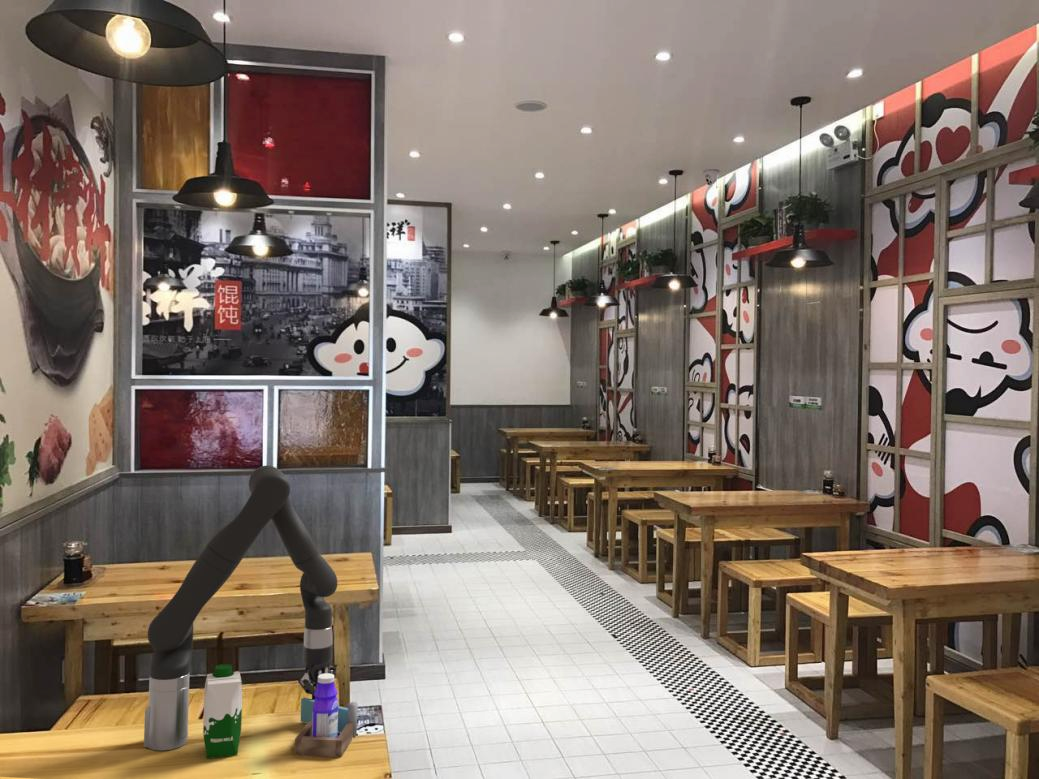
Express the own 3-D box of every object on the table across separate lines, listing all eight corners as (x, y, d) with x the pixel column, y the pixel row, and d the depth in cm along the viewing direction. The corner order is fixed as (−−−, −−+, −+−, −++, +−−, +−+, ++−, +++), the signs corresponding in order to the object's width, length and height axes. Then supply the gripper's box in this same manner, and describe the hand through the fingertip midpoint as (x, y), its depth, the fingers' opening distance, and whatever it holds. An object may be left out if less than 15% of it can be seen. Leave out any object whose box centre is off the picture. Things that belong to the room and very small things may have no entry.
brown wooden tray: (294, 755, 199) (295, 738, 199) (308, 736, 210) (309, 721, 210) (341, 757, 199) (341, 740, 199) (352, 738, 210) (353, 723, 210)
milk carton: (239, 741, 206) (241, 661, 207) (241, 756, 198) (243, 673, 198) (202, 746, 203) (204, 665, 203) (202, 761, 195) (205, 676, 195)
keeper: (298, 723, 218) (299, 692, 218) (305, 720, 220) (306, 690, 221) (352, 737, 210) (353, 706, 210) (358, 734, 212) (359, 703, 212)
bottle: (329, 752, 201) (331, 681, 201) (307, 750, 202) (309, 679, 202) (341, 740, 208) (342, 671, 209) (320, 738, 209) (321, 670, 210)
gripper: (311, 652, 213) (310, 718, 213) (345, 638, 225) (344, 702, 225) (290, 647, 217) (289, 713, 217) (324, 634, 229) (323, 697, 228)
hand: (317, 707), depth 221 cm, fingers closed
